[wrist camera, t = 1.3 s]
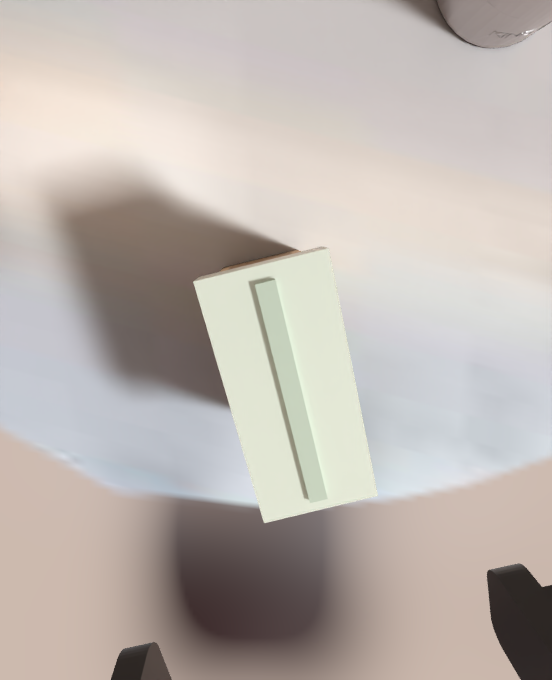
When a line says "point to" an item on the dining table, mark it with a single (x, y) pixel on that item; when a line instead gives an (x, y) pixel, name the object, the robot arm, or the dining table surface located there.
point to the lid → (289, 382)
